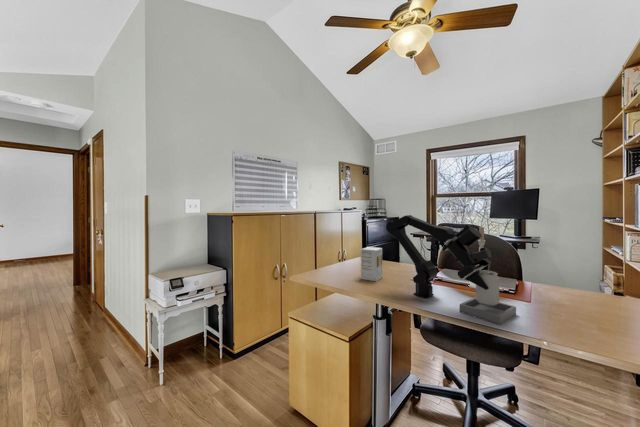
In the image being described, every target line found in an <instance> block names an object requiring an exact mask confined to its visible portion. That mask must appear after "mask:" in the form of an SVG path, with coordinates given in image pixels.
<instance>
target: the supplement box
mask: <svg viewBox="0 0 640 427" xmlns="http://www.w3.org/2000/svg"><path fill="white" fill-rule="evenodd" d="M382 278H383V248H382V247H375V246H366V247H363V248H361V249H360V279H361V280H366V281H371V282H378V281H379V280H380V279H382Z"/></svg>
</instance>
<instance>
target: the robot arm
mask: <svg viewBox="0 0 640 427" xmlns="http://www.w3.org/2000/svg"><path fill="white" fill-rule="evenodd" d="M408 226H411V227H413V228H416V229H418V230H419V231H421V232H425V233H427V234H428V235H430V236H431V237H432V238H433V239H435V240H436V241H438V242H440V243H444V244H442V251H443V252H445V251H449V252H450V253H451V254H452V255H453V256H454V258H455V262H457V263H460V265H461V266H462V268H461V269H459V270H458V271H457V276H458V278H459V279H460V280H463V279H464V280H465V281H467V282H468V281H470V282H472V283H474V284H476V285H478V286H480V287H482V288H483V289H485V290H487V289H489V288H488V286H487V285H486V283H485V282H484V280H483V279H482V278H481V276H480V271H481V270H486V271H491V270H490V268H491V263H492V261H491V260H490V258H492V257H493V256H492V251H491V250H490V248H487V247H486V246H483V247H484V248H480V251H479V250H478V251H476V252H474V251H473V250H472V249H471V250H469V249H468V248H467V247H471V246H473V245H474V244H475V243H476V242H478V240H479V239H480V238H482V235H481V233H480V232H479V230H478V229H476V228H475V227H473V226H471V225H470V224H466V225H465V226H464V227H463V228H462V229H461V230H460V231H456V230H454V229H453V228H451V227H447V226H444V225H443V226H442V225H436V224H433V223H431V222H428V221H425V220H423V219H420V218H417V217H415V216H413V215H411V214H408V215H406V214H405V215H403V216H401V217H400V218H397V219H395V220H391V221H387V223H386V225H385V230H386V232H387V233H388V234H389V235H390V236H392V237H393V238H395V239H396V240H397V241H398V242H399V244H400V246H402V248H403V249H404V251H405V253H406V254H407V255H408V257H409V258H410V259H411V261H412V263H413V264H414V268H415V272H416V275H415V276H413V277H412V282H413V284H414V283H415V292H413V295H414V296H416V297H417V296H418V297H420V298H424V299H428V298H431V297H434V293H433V292H434V290H433V286H432V285H433V283H432V282H433V281H434V280H435V278H436V277H437V275H438V270H437V266H436V265H435V264H434V262H433V261H432V260H431V259H429V260H426V259H425V258H424V257H423V255H422V253H420V251H419V250H418V248H417V247H416V246H415V245H414V243H413V242H412V240H411V239H410V238H409V236H408V235H407V232H406V227H408ZM454 239H455V240H454ZM446 242H447V243H446Z"/></svg>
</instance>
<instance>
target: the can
mask: <svg viewBox="0 0 640 427" xmlns="http://www.w3.org/2000/svg"><path fill="white" fill-rule="evenodd" d="M480 276H481V278H482V279H483V280H484V282H485V283H486V285H487V286H488V288H489V289H487V290H485V289H483V288H482V287H480V286H478V285H476V289H475V297H476V300H477V301H478V303H480V304H482V305H486V306H495V305H497V304H498V303H499V302H500V300H499V299H500V276H498V272H496V271H492V270H490V271H486V270H481V271H480Z"/></svg>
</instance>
